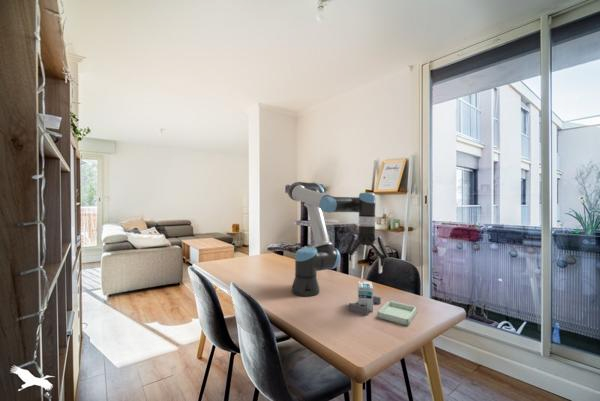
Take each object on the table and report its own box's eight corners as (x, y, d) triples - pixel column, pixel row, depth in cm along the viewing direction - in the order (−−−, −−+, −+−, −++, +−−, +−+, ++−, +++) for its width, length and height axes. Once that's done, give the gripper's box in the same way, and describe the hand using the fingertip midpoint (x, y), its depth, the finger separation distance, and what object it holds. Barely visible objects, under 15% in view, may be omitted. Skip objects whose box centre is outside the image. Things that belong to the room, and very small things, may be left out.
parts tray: (377, 317, 115) (377, 311, 115) (389, 305, 128) (389, 300, 128) (408, 326, 107) (408, 319, 108) (417, 312, 121) (417, 306, 121)
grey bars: (348, 310, 122) (348, 303, 122) (363, 299, 136) (363, 293, 136) (367, 315, 117) (367, 308, 117) (380, 303, 131) (380, 297, 131)
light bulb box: (373, 312, 121) (373, 288, 121) (358, 310, 122) (358, 286, 122) (371, 303, 131) (372, 281, 131) (357, 302, 132) (358, 280, 132)
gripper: (339, 224, 131) (338, 267, 131) (391, 227, 116) (390, 276, 116) (346, 223, 137) (345, 265, 137) (396, 226, 123) (395, 273, 122)
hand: (366, 270), depth 126 cm, fingers open, 13 cm apart
